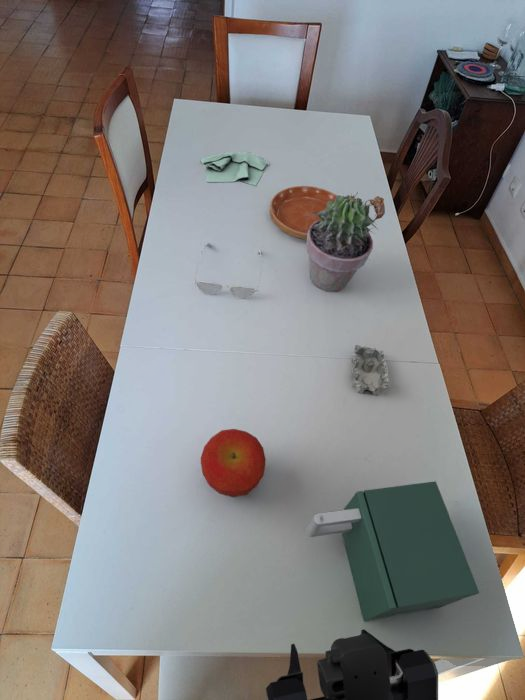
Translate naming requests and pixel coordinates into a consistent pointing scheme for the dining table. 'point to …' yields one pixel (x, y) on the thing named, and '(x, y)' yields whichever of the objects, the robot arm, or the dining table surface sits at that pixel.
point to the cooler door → (359, 554)
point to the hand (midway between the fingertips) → (328, 639)
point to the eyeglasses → (215, 288)
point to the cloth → (234, 167)
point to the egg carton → (369, 370)
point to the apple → (233, 462)
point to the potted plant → (340, 241)
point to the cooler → (419, 548)
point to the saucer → (299, 208)
